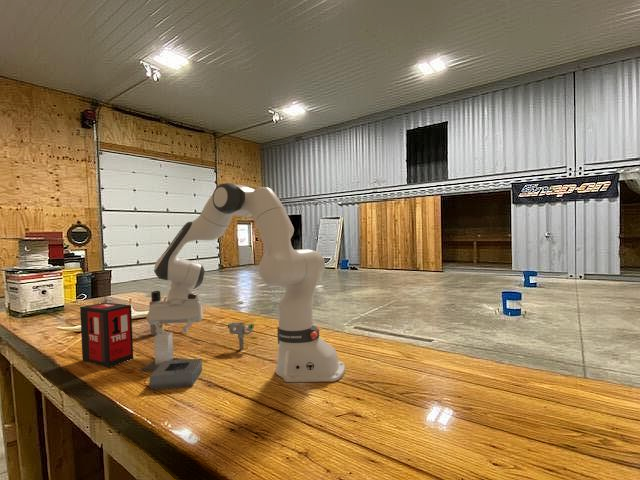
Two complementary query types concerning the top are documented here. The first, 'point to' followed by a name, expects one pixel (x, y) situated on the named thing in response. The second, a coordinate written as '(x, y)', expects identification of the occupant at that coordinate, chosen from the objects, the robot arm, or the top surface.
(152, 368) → the rubber mat
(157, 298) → the lotion bottle
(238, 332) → the mechanical component
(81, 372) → the top surface
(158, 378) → the square socket
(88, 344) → the cleaning product box
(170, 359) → the aluminium plug
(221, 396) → the top surface
